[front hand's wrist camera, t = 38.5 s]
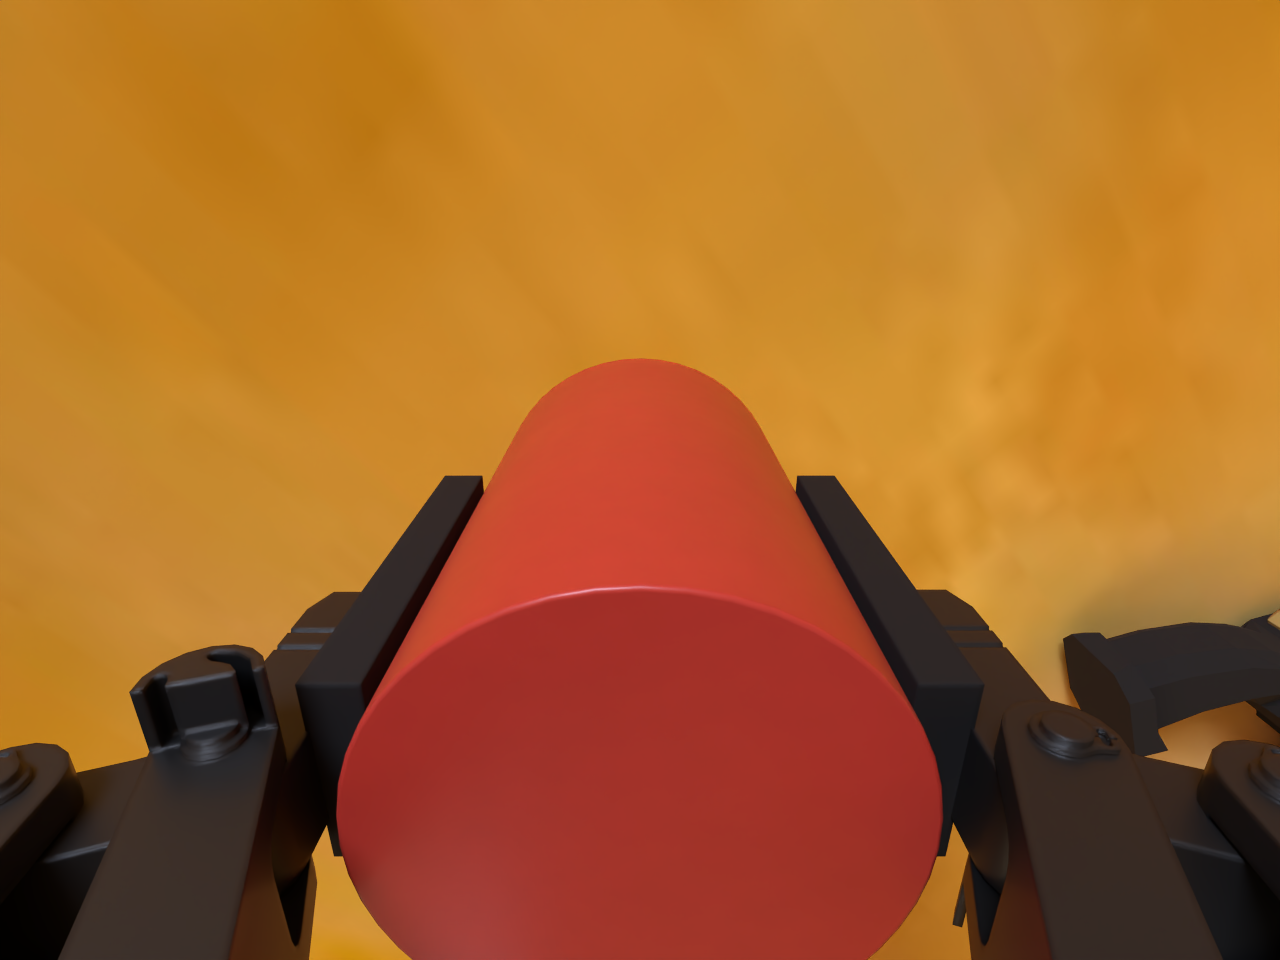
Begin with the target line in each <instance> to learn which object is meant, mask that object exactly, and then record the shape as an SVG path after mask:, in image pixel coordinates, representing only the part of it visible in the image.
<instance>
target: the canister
mask: <svg viewBox="0 0 1280 960" xmlns="http://www.w3.org/2000/svg"><path fill="white" fill-rule="evenodd" d="M336 818H337V826H338V834H339V842H340V848H341V851H342V855H343V858H344V861H345V865H346V868H347V871H348V874H349V876H350V879H351V881H352V883H353V885H354V887H355V889H356V891H357V893H358V895H359V897H360V899H361V901H362V902H363V904H364V905H365V907H366V908H367V910H368V911H369V913H370V914H371V915H372V917H373V918H374V920H375V921H376V923H377V924H378V926H379V927H380V928H381V929H382V930H383V931H384V932H385V933H386V934H387V935H388V937H389V938H390V939H391V940H392V941H393V942H394V943H395V944H396V945H397V946H398V947H399V948H400V949H401V950H402V951H403V952H404V953H405V954H407V955H408V956H409V957H410V958H411V959H412V960H867V959H868V958H870V957H871V956H872V955H873V954H874V953H876V952H877V951H878V950H879V949H880V948H881V947H882V946H883V945H884V944H885V943H886V941H887V940H888V939H889V938H890V937H891V936H892V935H893V934H894V933H895V932H896V931H897V930H898V929H899V927H900V926H901V925H902V923H903V922H904V920H905V919H906V918H907V916H908V915H909V913H910V912H911V911H912V909H913V908H914V906H915V905H916V904H917V902H918V900H919V898H920V896H921V894H922V892H923V890H924V888H925V886H926V884H927V882H928V880H929V878H930V875H931V872H932V869H933V866H934V863H935V860H936V857H937V854H938V851H939V845H940V838H941V831H942V824H943V803H942V785H941V780H940V776H939V771H938V767H937V762H936V758H935V755H934V752H933V750H932V748H931V745H930V743H929V740H928V738H927V736H926V733H925V731H924V728H923V726H922V724H921V723H920V721H919V719H918V717H917V715H916V713H915V712H914V710H913V708H912V706H911V704H910V702H909V700H908V699H907V697H906V695H905V693H904V691H903V689H902V688H901V686H900V684H899V682H898V680H897V678H896V677H895V675H894V673H893V671H892V669H891V667H890V665H889V664H888V662H887V660H886V658H885V656H884V654H883V653H882V651H881V649H880V647H879V645H878V643H877V642H876V640H875V638H874V636H873V634H872V632H871V630H870V629H869V627H868V625H867V623H866V621H865V619H864V618H863V616H862V614H861V612H860V610H859V608H858V607H857V605H856V603H855V601H854V599H853V597H852V596H851V594H850V592H849V590H848V588H847V586H846V584H845V583H844V581H843V579H842V577H841V575H840V573H839V572H838V570H837V568H836V566H835V564H834V562H833V561H832V559H831V557H830V555H829V553H828V551H827V549H826V548H825V546H824V544H823V542H822V540H821V538H820V537H819V535H818V533H817V531H816V529H815V527H814V526H813V524H812V522H811V520H810V518H809V516H808V514H807V513H806V511H805V509H804V507H803V505H802V503H801V502H800V500H799V498H798V496H797V494H796V492H795V491H794V489H793V487H792V485H791V483H790V481H789V479H788V478H787V476H786V474H785V472H784V470H783V468H782V467H781V465H780V463H779V461H778V459H777V457H776V456H775V454H774V452H773V450H772V448H771V446H770V445H769V443H768V441H767V439H766V437H765V435H764V433H763V432H762V430H761V428H760V426H759V425H758V423H757V422H756V420H755V418H754V417H753V415H752V414H751V412H750V411H749V410H748V409H747V408H746V406H745V405H744V404H743V403H742V402H741V400H740V399H738V398H737V397H736V396H735V395H734V394H733V393H732V392H731V391H730V390H728V389H727V388H726V387H725V386H723V385H722V384H720V383H719V382H717V381H716V380H714V379H713V378H711V377H709V376H707V375H705V374H703V373H701V372H699V371H697V370H695V369H692V368H689V367H686V366H683V365H680V364H677V363H672V362H667V361H663V360H654V359H625V360H618V361H613V362H607V363H603V364H600V365H597V366H594V367H591V368H588V369H585V370H583V371H581V372H579V373H577V374H575V375H573V376H571V377H569V378H567V379H566V380H564V381H563V382H561V383H560V384H558V385H557V386H555V387H554V388H553V389H552V390H550V391H549V392H548V393H547V394H546V395H545V396H544V397H542V398H541V399H540V400H539V402H538V403H537V404H536V405H535V406H534V407H533V409H532V410H531V411H530V412H529V414H528V415H527V417H526V418H525V420H524V421H523V423H522V424H521V426H520V428H519V430H518V431H517V433H516V435H515V437H514V439H513V441H512V442H511V444H510V446H509V448H508V450H507V452H506V453H505V455H504V457H503V459H502V461H501V463H500V464H499V466H498V468H497V470H496V472H495V474H494V475H493V477H492V479H491V481H490V483H489V485H488V486H487V488H486V490H485V492H484V494H483V496H482V497H481V499H480V501H479V503H478V505H477V507H476V508H475V510H474V512H473V514H472V516H471V518H470V519H469V521H468V523H467V525H466V527H465V529H464V531H463V532H462V534H461V536H460V538H459V540H458V542H457V543H456V545H455V547H454V549H453V551H452V553H451V554H450V556H449V558H448V560H447V562H446V564H445V565H444V567H443V569H442V571H441V573H440V575H439V576H438V578H437V580H436V582H435V584H434V586H433V587H432V589H431V591H430V593H429V595H428V597H427V598H426V600H425V602H424V604H423V606H422V608H421V609H420V611H419V613H418V615H417V617H416V619H415V620H414V622H413V624H412V626H411V628H410V630H409V631H408V633H407V635H406V637H405V639H404V641H403V643H402V644H401V646H400V648H399V650H398V652H397V654H396V655H395V657H394V659H393V661H392V663H391V665H390V666H389V668H388V670H387V672H386V674H385V676H384V677H383V679H382V681H381V683H380V685H379V687H378V688H377V690H376V692H375V694H374V696H373V698H372V699H371V701H370V703H369V705H368V707H367V709H366V710H365V712H364V714H363V716H362V718H361V720H360V721H359V723H358V725H357V728H356V730H355V732H354V735H353V737H352V739H351V741H350V744H349V746H348V748H347V751H346V753H345V757H344V761H343V765H342V769H341V773H340V777H339V782H338V793H337V811H336Z"/></svg>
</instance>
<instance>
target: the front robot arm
mask: <svg viewBox="0 0 1280 960" xmlns="http://www.w3.org/2000/svg"><path fill="white" fill-rule="evenodd" d="M483 494H484V489H483V478H482V476H445V477H444V478H443V479H442V481H441V482H440V484H439V485H438V486H437V488H436V489H435V491H434V492H433V493H432V495H431V496H430V497H429V499H428V500H427V502H426V503H425V504H424V506H423V507H422V509H421V510H420V511H419V513H418V514H417V516H416V517H415V518H414V520H413V521H412V522H411V524H410V525H409V527H408V528H407V529H406V531H405V532H404V534H403V535H402V536H401V538H400V539H399V541H398V542H397V543H396V545H395V546H394V547H393V549H392V550H391V552H390V553H389V554H388V556H387V557H386V559H385V560H384V561H383V563H382V564H381V566H380V567H379V568H378V570H377V571H376V572H375V574H374V575H373V577H372V578H371V579H370V581H369V582H368V584H367V585H366V586H365V588H364V589H363V591H362V592H333V593H332V594H330V595H329V596H327V597H326V598H324V599H322V600H321V601H319V602H318V603H316V604H315V605H313V606H312V607H310V608H308V609H307V610H306V612H305V613H304V614H303V615H302V616H301V618H300V619H299V620H298V621H297V622H296V624H295V625H294V626H293V627H292V629H291V633H287V635H286V636H285V637H284V638H283V639H282V641H281V642H280V643H279V644H278V646H277V647H278V648H277V650H273V652H272V653H271V654H270V655H269V656H268V658H267V659H266V660H265V661H264V659H263V656H262V655H261V654H260V653H258V652H257V651H256V650H254V649H253V648H250V647H245V646H239V645H223V646H211V647H207V648H203V649H200V650H196V651H192V652H188V653H185V654H183V655H181V656H178V657H176V658H174V659H171V660H169V661H167V662H165V663H162V664H161V665H159V666H158V667H156V668H155V669H154V670H152V671H151V672H149V673H148V674H146V675H145V676H143V677H142V678H141V679H140V680H139V681H138V683H137V684H136V685H135V686H134V687H133V689H132V690H131V691H130V692H129V693H130V696H131V699H132V702H133V704H134V707H135V710H136V713H137V716H138V719H139V722H140V725H141V728H142V731H143V734H144V737H145V740H146V743H147V746H148V748H149V751H150V752H149V754H148V756H147V757H144V758H141V759H137V760H133V761H128V762H124V763H119V764H114V765H110V766H105V767H101V768H96V769H92V770H87V771H82V772H78V773H76V771H75V769H74V766H73V764H72V761H71V758H70V756H69V753H68V752H67V751H65V750H64V749H62V748H61V747H59V746H58V745H55V744H43V743H33V744H27V745H22V746H16V747H10V748H7V749H4V750H0V960H309V953H310V944H311V935H312V925H313V916H314V907H315V898H316V888H317V879H316V872H315V866H314V862H313V858H312V853H313V851H314V849H315V847H316V845H317V843H318V841H319V839H320V837H321V835H322V833H323V831H324V829H325V827H326V825H327V827H328V832H329V836H330V840H331V845H332V849H333V854H334V856H343V855H342V851H341V848H340V842H339V834H338V826H337V818H336V811H337V793H338V782H339V777H340V773H341V769H342V765H343V761H344V757H345V753H346V751H347V748H348V746H349V744H350V741H351V739H352V737H353V735H354V732H355V730H356V728H357V725H358V723H359V721H360V720H361V718H362V716H363V714H364V712H365V710H366V709H367V707H368V705H369V703H370V701H371V699H372V698H373V696H374V694H375V692H376V690H377V688H378V687H379V685H380V683H381V681H382V679H383V677H384V676H385V674H386V672H387V670H388V668H389V666H390V665H391V663H392V661H393V659H394V657H395V655H396V654H397V652H398V650H399V648H400V646H401V644H402V643H403V641H404V639H405V637H406V635H407V633H408V631H409V630H410V628H411V626H412V624H413V622H414V620H415V619H416V617H417V615H418V613H419V611H420V609H421V608H422V606H423V604H424V602H425V600H426V598H427V597H428V595H429V593H430V591H431V589H432V587H433V586H434V584H435V582H436V580H437V578H438V576H439V575H440V573H441V571H442V569H443V567H444V565H445V564H446V562H447V560H448V558H449V556H450V554H451V553H452V551H453V549H454V547H455V545H456V543H457V542H458V540H459V538H460V536H461V534H462V532H463V531H464V529H465V527H466V525H467V523H468V521H469V519H470V518H471V516H472V514H473V512H474V510H475V508H476V507H477V505H478V503H479V501H480V499H481V497H482V496H483ZM796 494H797V496H798V498H799V500H800V502H801V503H802V505H803V507H804V509H805V511H806V513H807V514H808V516H809V518H810V520H811V522H812V524H813V526H814V527H815V529H816V531H817V533H818V535H819V537H820V538H821V540H822V542H823V544H824V546H825V548H826V549H827V551H828V553H829V555H830V557H831V559H832V561H833V562H834V564H835V566H836V568H837V570H838V572H839V573H840V575H841V577H842V579H843V581H844V583H845V584H846V586H847V588H848V590H849V592H850V594H851V596H852V597H853V599H854V601H855V603H856V605H857V607H858V608H859V610H860V612H861V614H862V616H863V618H864V619H865V621H866V623H867V625H868V627H869V629H870V630H871V632H872V634H873V636H874V638H875V640H876V642H877V643H878V645H879V647H880V649H881V651H882V653H883V654H884V656H885V658H886V660H887V662H888V664H889V665H890V667H891V669H892V671H893V673H894V675H895V677H896V678H897V680H898V682H899V684H900V686H901V688H902V689H903V691H904V693H905V695H906V697H907V699H908V700H909V702H910V704H911V706H912V708H913V710H914V712H915V713H916V715H917V717H918V719H919V721H920V723H921V724H922V726H923V728H924V731H925V733H926V736H927V738H928V740H929V743H930V745H931V748H932V750H933V752H934V755H935V758H936V762H937V767H938V771H939V776H940V780H941V785H942V803H943V824H942V831H941V838H940V845H939V851H938V854H937V856H946V852H947V847H948V843H949V838H950V834H951V830H952V825H953V823H954V825H955V827H956V829H957V831H958V832H959V834H960V836H961V838H962V840H963V842H964V844H965V846H966V848H967V850H968V852H969V854H968V858H967V862H966V866H965V870H964V874H963V879H962V883H961V887H960V891H959V895H958V899H957V903H956V907H955V912H954V919H953V925H956V926H959V927H962V926H963V922H964V918H965V914H967V923H968V933H969V942H970V951H971V960H1280V747H1278V746H1274V745H1271V744H1266V743H1260V742H1254V741H1248V740H1236V741H1225V742H1222V743H1221V744H1220V745H1218V746H1217V747H1215V748H1214V749H1212V752H1211V754H1210V757H1209V759H1208V762H1207V764H1206V767H1205V769H1204V770H1202V769H1198V768H1193V767H1189V766H1184V765H1179V764H1175V763H1170V762H1166V761H1161V760H1156V759H1152V758H1147V757H1143V756H1139V755H1136V754H1132V752H1131V750H1130V749H1129V748H1128V746H1127V745H1126V743H1125V742H1124V741H1123V739H1122V738H1121V737H1120V735H1119V734H1118V733H1116V732H1115V731H1114V730H1113V729H1111V728H1110V727H1109V726H1107V725H1106V724H1105V723H1104V722H1102V721H1101V720H1100V719H1098V718H1096V717H1094V716H1092V715H1090V714H1088V713H1086V712H1084V711H1082V710H1080V709H1078V708H1075V707H1071V706H1068V705H1065V704H1061V703H1058V702H1054V701H1050V700H1049V699H1048V697H1047V696H1046V695H1045V694H1044V693H1043V691H1042V690H1041V689H1040V688H1039V686H1038V685H1037V684H1036V683H1035V682H1034V680H1033V679H1032V678H1031V677H1030V676H1029V674H1028V673H1027V672H1026V671H1025V670H1024V668H1023V667H1022V666H1021V665H1020V664H1019V662H1018V661H1017V660H1016V659H1015V658H1014V656H1013V655H1012V654H1011V653H1010V651H1009V650H1008V649H1007V648H1006V647H1003V643H1002V642H1001V641H1000V639H999V638H998V637H997V636H996V635H995V633H994V632H993V631H989V626H988V625H987V624H986V623H985V621H984V620H983V619H982V618H981V617H980V615H979V614H978V613H977V612H976V610H975V609H974V608H973V607H972V606H970V605H969V604H967V603H966V602H964V601H963V600H961V599H959V598H958V597H956V596H955V595H953V594H952V593H950V592H949V591H947V590H916V588H915V587H914V586H913V584H912V583H911V581H910V580H909V579H908V577H907V576H906V575H905V573H904V572H903V570H902V569H901V568H900V566H899V565H898V563H897V562H896V561H895V559H894V558H893V556H892V555H891V554H890V552H889V551H888V550H887V548H886V547H885V545H884V544H883V543H882V541H881V540H880V538H879V537H878V536H877V534H876V533H875V531H874V530H873V529H872V527H871V526H870V525H869V523H868V522H867V520H866V519H865V518H864V516H863V515H862V513H861V512H860V511H859V509H858V508H857V506H856V505H855V504H854V502H853V501H852V500H851V498H850V497H849V495H848V494H847V493H846V491H845V490H844V488H843V487H842V486H841V484H840V483H839V481H838V480H837V479H836V477H835V476H797V484H796Z"/></svg>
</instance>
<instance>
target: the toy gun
mask: <svg viewBox="0 0 1280 960" xmlns="http://www.w3.org/2000/svg"><path fill="white" fill-rule="evenodd" d="M1063 642H1064V649H1065V655H1066V662H1067V669H1068V676H1069V683H1070V688H1071V690H1072V692H1073V694H1074V696H1075V698H1076V700H1077V702H1078V704H1079V706H1080V708H1081V710H1082V711H1084V712H1086V713H1088V714H1090V715H1092V716H1094V717H1096V718H1098V719H1100V720H1101V721H1102V722H1104V723H1105V724H1106V725H1107V726H1109V727H1110V728H1111V729H1113V730H1114V731H1115V732H1116V733H1118V734H1119V735H1120V737H1121V738H1122V739H1123V741H1124V742H1125V743H1126V745H1127V746H1128V748H1129V749H1130V750H1131V752H1132V754H1136V755H1139V756H1143V757H1144V756H1148V755H1152V754H1156V753H1160V752H1163V751H1167V750H1168V749H1167V748H1166V746H1165V744H1164V742H1163V741H1162V739H1161V737H1160V735H1159V734H1158V729H1159V728H1162V727H1164V726H1167V725H1170V724H1172V723H1175V722H1177V721H1180V720H1183V719H1185V718H1188V717H1190V716H1193V715H1196V714H1198V713H1201V712H1204V711H1207V710H1211V709H1215V708H1219V707H1223V706H1227V705H1231V704H1235V703H1239V702H1243V701H1246V702H1248V703H1249V704H1250V705H1251V706H1253V707H1254V708H1255V709H1256V710H1257V716H1258V717H1260V718H1261V719H1262V720H1263V721H1265V722H1266V723H1267V724H1268V725H1270V726H1271V727H1272V728H1273V729H1275V730H1276V731H1277V732H1278V733H1280V609H1279V610H1277V611H1276V612H1275V613H1273V614H1269V615H1266V616H1262V617H1258V618H1255V619H1251V620H1249V621H1248V622H1247V623H1245V624H1244V625H1243V626H1242V627H1238V626H1233V625H1227V624H1215V623H1192V622H1190V623H1183V624H1176V625H1170V626H1163V627H1157V628H1150V629H1144V630H1137V631H1134V632H1130V633H1127V634H1123V635H1119V636H1116V637H1112V638H1109V639H1106V638H1105V637H1104V636H1102V635H1101V634H1100V633H1078V634H1071V635H1069V636H1067V637H1065V638H1063Z"/></svg>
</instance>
